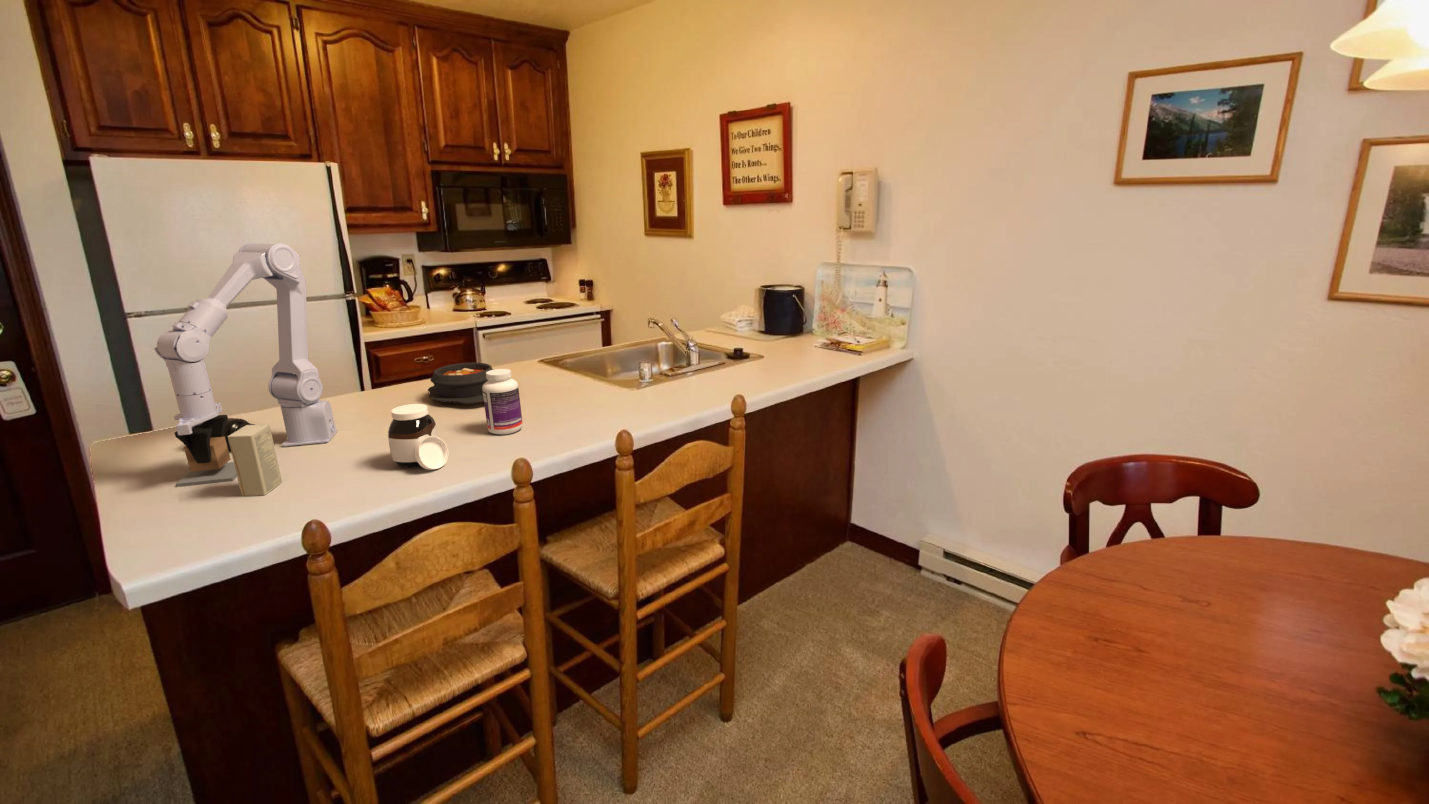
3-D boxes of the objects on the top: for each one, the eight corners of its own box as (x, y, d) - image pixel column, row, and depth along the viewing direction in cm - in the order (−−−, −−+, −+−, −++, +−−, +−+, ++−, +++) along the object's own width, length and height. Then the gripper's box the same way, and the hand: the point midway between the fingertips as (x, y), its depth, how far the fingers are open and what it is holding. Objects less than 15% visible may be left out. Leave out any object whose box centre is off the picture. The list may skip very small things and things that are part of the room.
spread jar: (410, 452, 143) (402, 401, 140) (462, 452, 143) (455, 401, 140) (382, 474, 132) (372, 419, 129) (438, 474, 132) (430, 419, 128)
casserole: (521, 398, 181) (518, 369, 179) (459, 415, 168) (454, 383, 165) (473, 383, 197) (469, 355, 194) (412, 397, 183) (407, 368, 180)
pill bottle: (530, 427, 158) (524, 369, 154) (507, 438, 151) (500, 377, 147) (504, 422, 161) (497, 365, 157) (480, 433, 154) (472, 374, 150)
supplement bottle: (194, 450, 145) (240, 453, 142) (190, 419, 143) (236, 422, 141) (223, 443, 151) (267, 446, 149) (219, 414, 150) (264, 416, 148)
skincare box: (260, 483, 129) (246, 424, 125) (283, 482, 129) (270, 423, 125) (240, 497, 123) (225, 436, 119) (265, 496, 123) (251, 435, 119)
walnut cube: (230, 459, 135) (224, 436, 134) (219, 468, 130) (213, 445, 129) (202, 461, 134) (196, 439, 132) (190, 471, 129) (183, 447, 128)
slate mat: (250, 462, 138) (250, 460, 138) (232, 480, 130) (231, 478, 130) (198, 468, 136) (197, 465, 136) (176, 486, 127) (175, 483, 127)
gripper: (187, 383, 133) (203, 446, 137) (149, 404, 120) (169, 473, 124) (227, 381, 135) (242, 443, 139) (194, 401, 122) (212, 469, 126)
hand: (210, 457), depth 132 cm, fingers closed on walnut cube, 5 cm apart
